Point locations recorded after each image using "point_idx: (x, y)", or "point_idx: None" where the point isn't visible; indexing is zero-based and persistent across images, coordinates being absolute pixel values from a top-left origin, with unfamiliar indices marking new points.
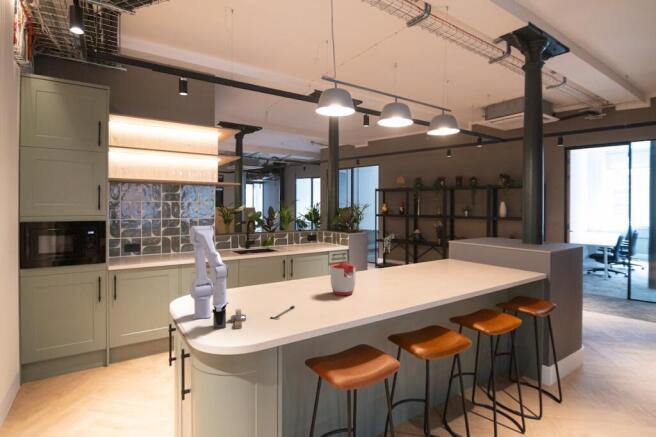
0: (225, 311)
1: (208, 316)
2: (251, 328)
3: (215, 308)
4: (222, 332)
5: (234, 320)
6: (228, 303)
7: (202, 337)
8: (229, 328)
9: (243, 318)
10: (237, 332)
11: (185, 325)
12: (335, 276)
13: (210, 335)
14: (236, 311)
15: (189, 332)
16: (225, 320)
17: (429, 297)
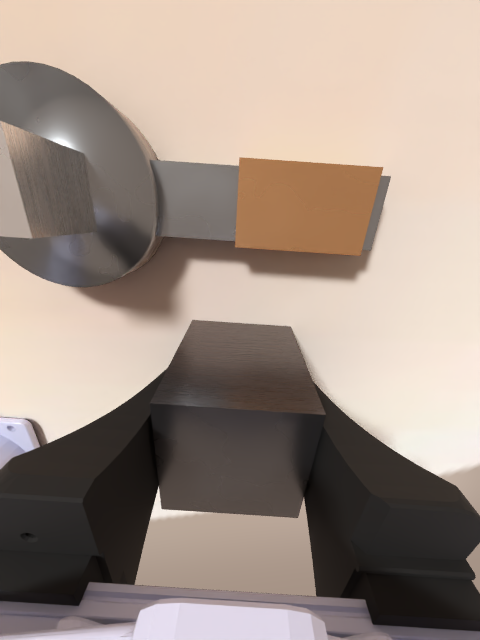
0: (175, 409)
1: (15, 433)
2: (441, 36)
3: (139, 548)
4: (390, 351)
5: (153, 246)
6: (323, 634)
7: (414, 454)
8: (319, 297)
9: (124, 121)
10: (469, 231)
11: (167, 515)
12: None
13: (406, 419)
14: (36, 221)
15: None
16: (304, 362)
17: None
